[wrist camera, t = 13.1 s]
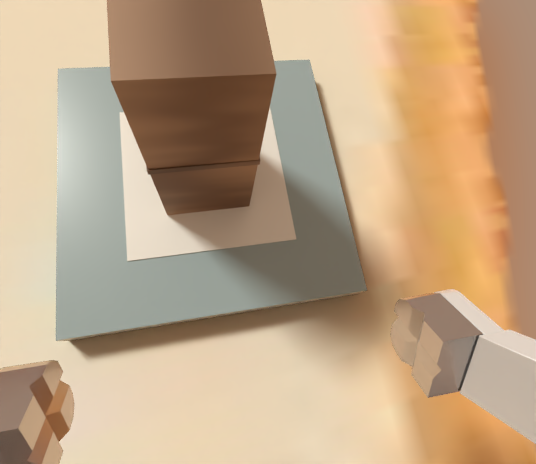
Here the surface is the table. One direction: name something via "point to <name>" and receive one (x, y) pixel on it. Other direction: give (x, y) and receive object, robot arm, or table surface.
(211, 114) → the walnut block
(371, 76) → the table surface
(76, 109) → the plate
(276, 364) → the table surface
